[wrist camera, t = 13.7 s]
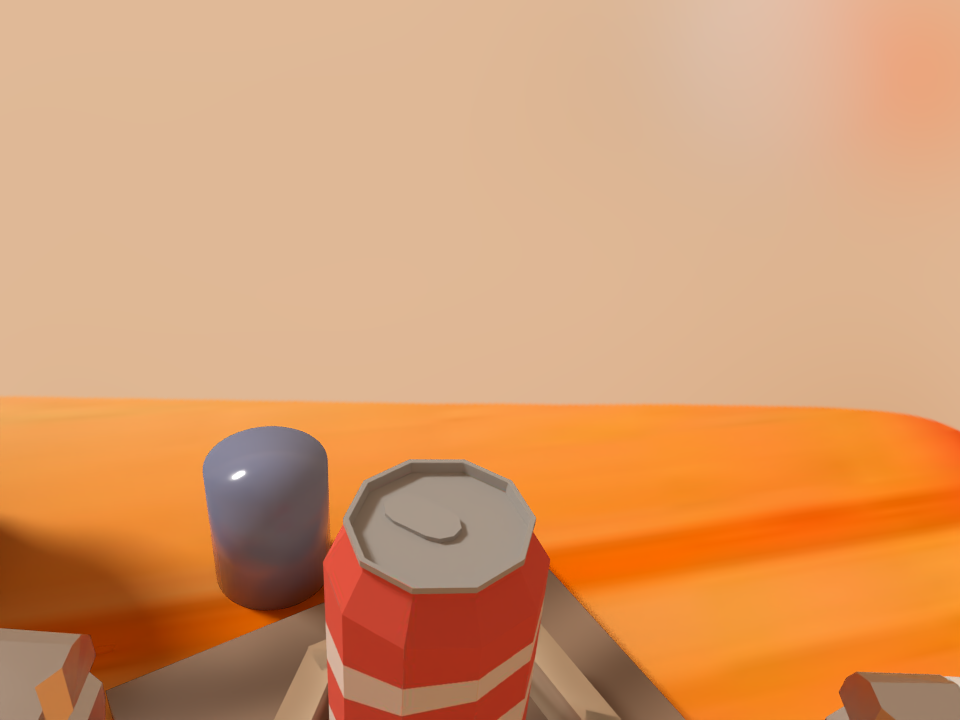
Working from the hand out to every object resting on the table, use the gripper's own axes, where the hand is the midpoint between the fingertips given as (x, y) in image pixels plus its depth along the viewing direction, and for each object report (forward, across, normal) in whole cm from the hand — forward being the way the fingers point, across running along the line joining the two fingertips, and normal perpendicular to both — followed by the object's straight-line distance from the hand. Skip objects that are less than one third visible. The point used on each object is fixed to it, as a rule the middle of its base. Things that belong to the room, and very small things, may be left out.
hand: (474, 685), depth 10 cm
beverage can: (+11, 0, +21) cm, 24 cm away
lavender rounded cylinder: (+22, +7, +22) cm, 32 cm away
